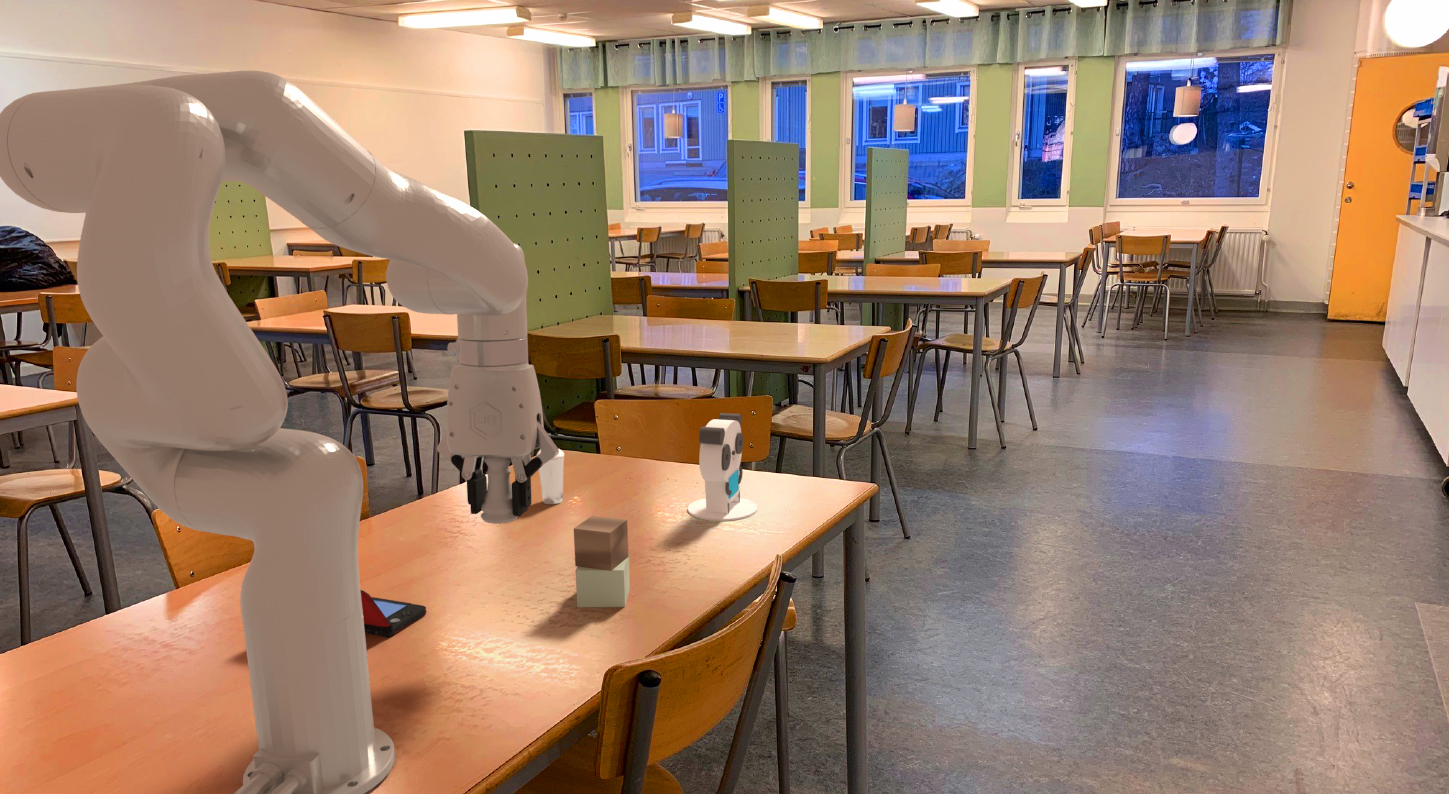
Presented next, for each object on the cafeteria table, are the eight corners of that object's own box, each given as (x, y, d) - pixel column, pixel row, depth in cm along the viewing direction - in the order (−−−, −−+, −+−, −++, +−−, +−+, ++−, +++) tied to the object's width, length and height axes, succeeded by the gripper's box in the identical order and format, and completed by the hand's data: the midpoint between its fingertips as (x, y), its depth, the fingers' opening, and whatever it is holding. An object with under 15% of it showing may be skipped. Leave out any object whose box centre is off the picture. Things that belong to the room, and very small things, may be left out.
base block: (625, 607, 121) (623, 570, 120) (577, 608, 122) (575, 570, 120) (630, 588, 127) (628, 552, 126) (584, 588, 127) (582, 553, 126)
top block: (611, 570, 120) (609, 532, 119) (575, 566, 122) (573, 528, 121) (628, 556, 125) (627, 519, 124) (593, 552, 127) (592, 515, 125)
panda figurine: (744, 525, 150) (743, 431, 147) (676, 518, 154) (674, 426, 151) (765, 501, 161) (765, 413, 158) (701, 496, 165) (699, 410, 162)
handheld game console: (431, 614, 121) (426, 558, 119) (371, 653, 111) (365, 592, 109) (350, 600, 125) (345, 546, 123) (286, 636, 115) (279, 577, 114)
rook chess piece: (510, 525, 109) (508, 456, 108) (473, 523, 110) (470, 454, 108) (526, 514, 113) (524, 447, 112) (490, 512, 114) (488, 445, 113)
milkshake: (531, 506, 161) (528, 447, 159) (546, 496, 166) (543, 439, 164) (556, 508, 159) (553, 449, 157) (571, 498, 164) (568, 441, 162)
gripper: (406, 356, 106) (415, 517, 109) (554, 360, 103) (559, 525, 106) (438, 348, 113) (446, 499, 116) (577, 351, 110) (580, 506, 114)
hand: (500, 510), depth 111 cm, fingers closed on rook chess piece, 4 cm apart
